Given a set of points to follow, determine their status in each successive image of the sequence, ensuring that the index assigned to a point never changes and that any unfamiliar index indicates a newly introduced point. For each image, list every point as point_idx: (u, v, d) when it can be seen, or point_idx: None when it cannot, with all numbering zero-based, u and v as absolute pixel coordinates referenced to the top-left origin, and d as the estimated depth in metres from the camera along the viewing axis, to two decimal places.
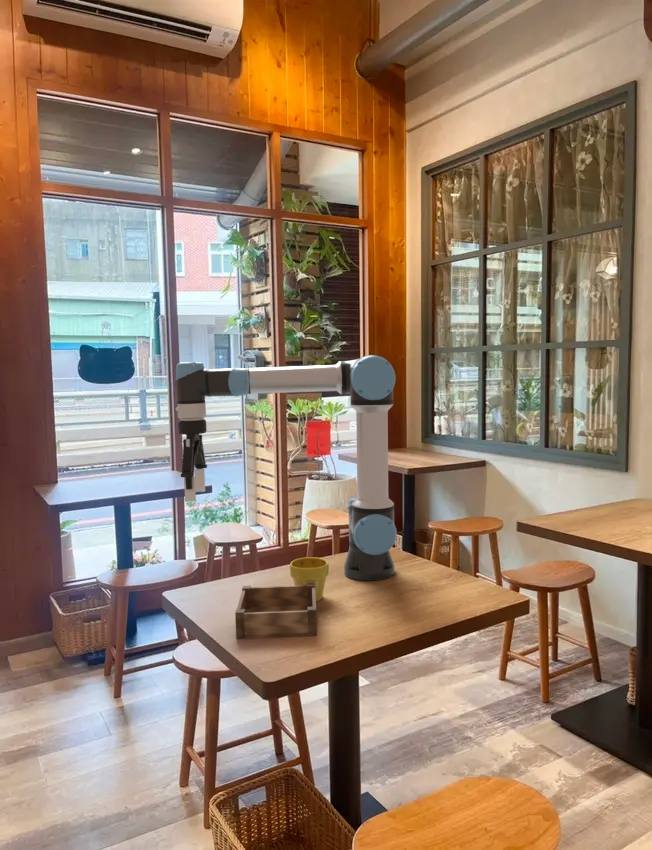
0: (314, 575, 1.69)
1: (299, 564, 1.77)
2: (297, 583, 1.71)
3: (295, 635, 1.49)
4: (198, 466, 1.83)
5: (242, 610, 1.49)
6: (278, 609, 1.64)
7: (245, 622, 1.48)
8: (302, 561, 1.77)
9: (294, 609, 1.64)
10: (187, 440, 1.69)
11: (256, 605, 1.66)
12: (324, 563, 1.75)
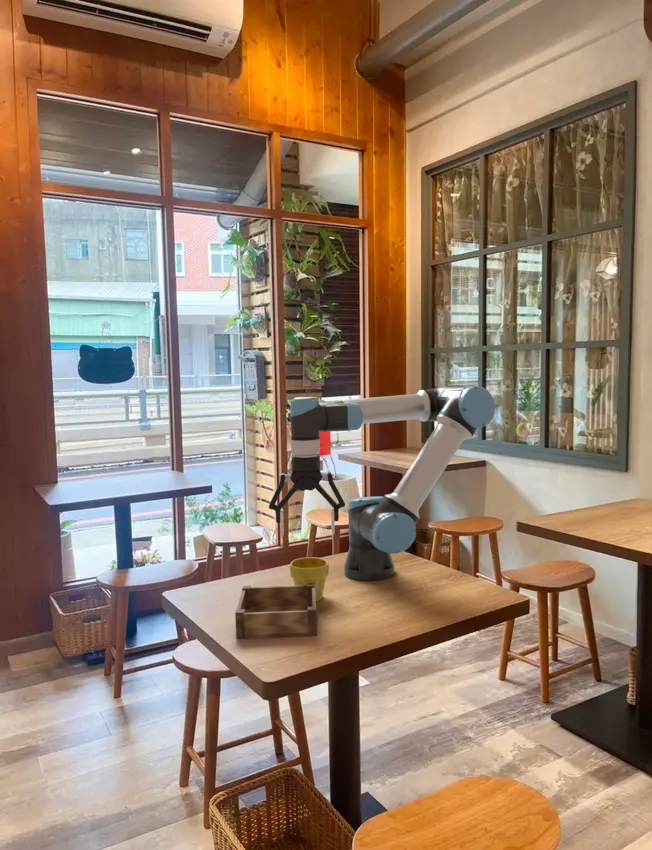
0: (314, 575, 1.69)
1: (299, 564, 1.77)
2: (297, 583, 1.71)
3: (295, 635, 1.49)
4: None
5: (242, 610, 1.49)
6: (278, 609, 1.64)
7: (245, 622, 1.48)
8: (302, 561, 1.77)
9: (294, 609, 1.64)
10: None
11: (256, 605, 1.66)
12: (324, 563, 1.75)
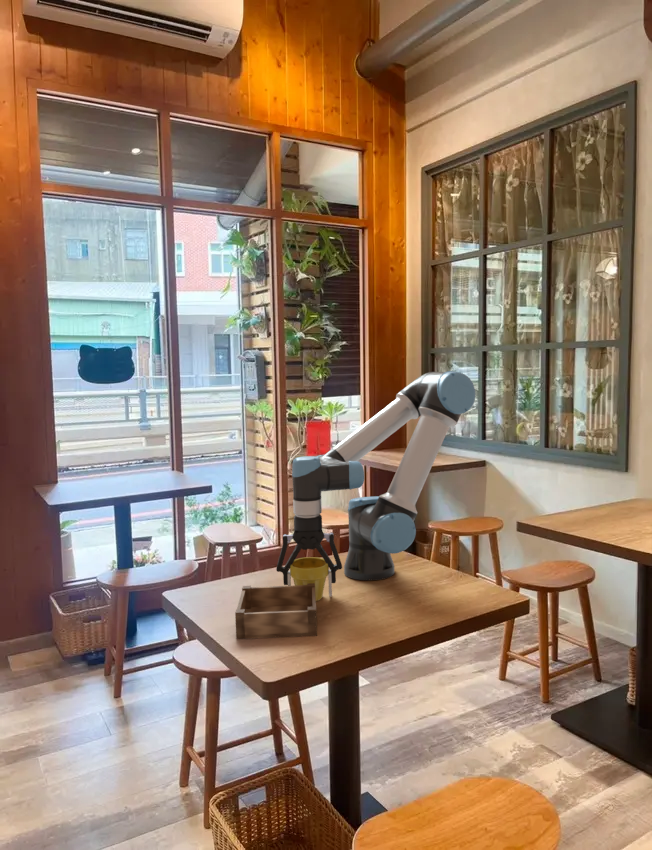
0: (314, 575, 1.69)
1: (299, 564, 1.77)
2: (297, 583, 1.71)
3: (295, 635, 1.49)
4: None
5: (242, 610, 1.49)
6: (278, 609, 1.64)
7: (245, 622, 1.48)
8: (302, 561, 1.77)
9: (294, 609, 1.64)
10: None
11: (256, 605, 1.66)
12: (324, 563, 1.75)
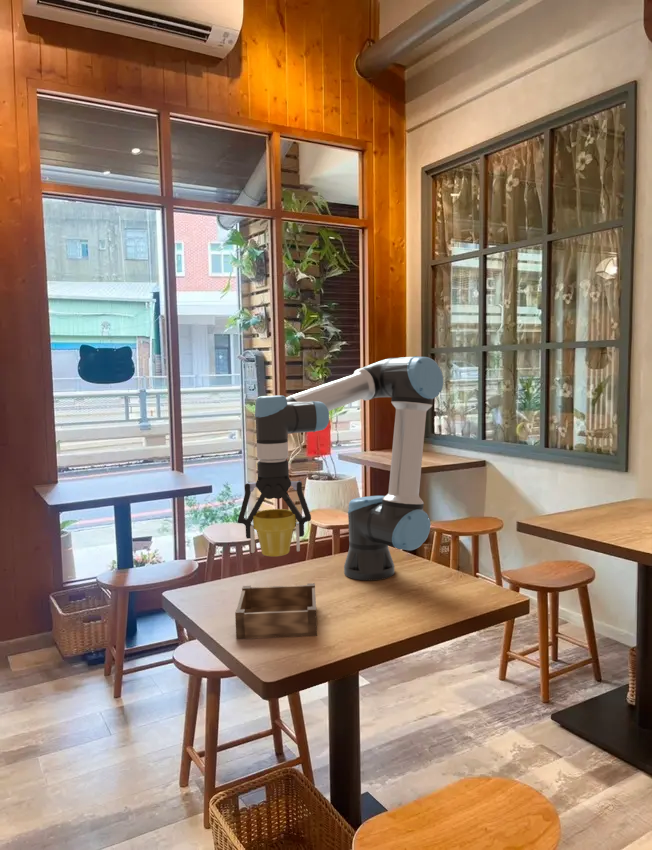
0: (279, 526, 1.51)
1: (264, 516, 1.59)
2: (260, 535, 1.53)
3: (295, 635, 1.49)
4: None
5: (242, 610, 1.49)
6: (278, 609, 1.64)
7: (245, 622, 1.48)
8: (268, 513, 1.60)
9: (294, 609, 1.64)
10: (245, 484, 1.55)
11: (256, 605, 1.66)
12: (291, 515, 1.58)
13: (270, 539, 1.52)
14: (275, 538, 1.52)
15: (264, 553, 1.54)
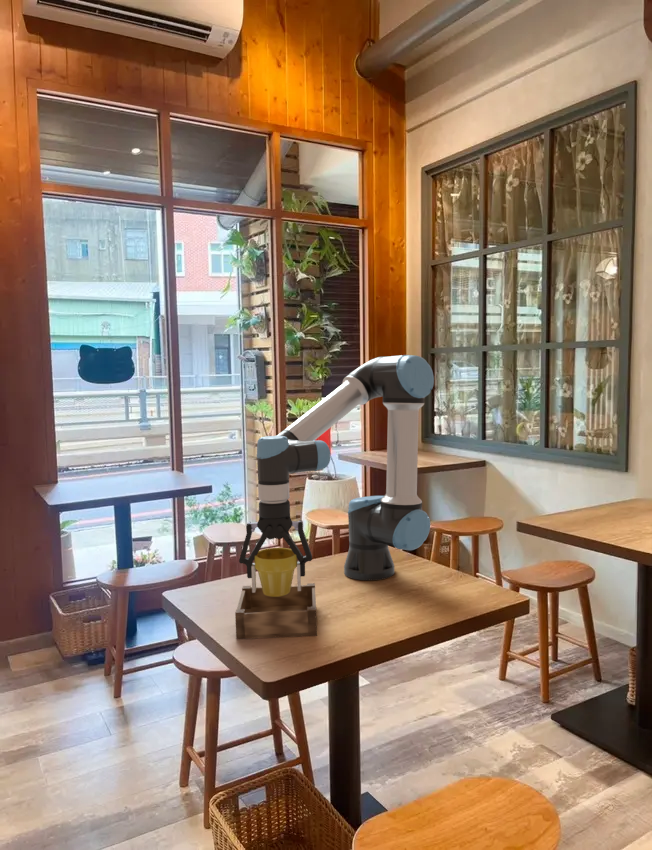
0: (280, 567, 1.52)
1: (265, 555, 1.60)
2: (262, 576, 1.54)
3: (295, 635, 1.49)
4: None
5: (242, 610, 1.49)
6: (278, 609, 1.64)
7: (245, 622, 1.48)
8: (269, 552, 1.61)
9: (294, 609, 1.64)
10: None
11: (256, 605, 1.66)
12: (293, 554, 1.59)
13: (271, 580, 1.53)
14: (276, 579, 1.53)
15: (265, 593, 1.55)
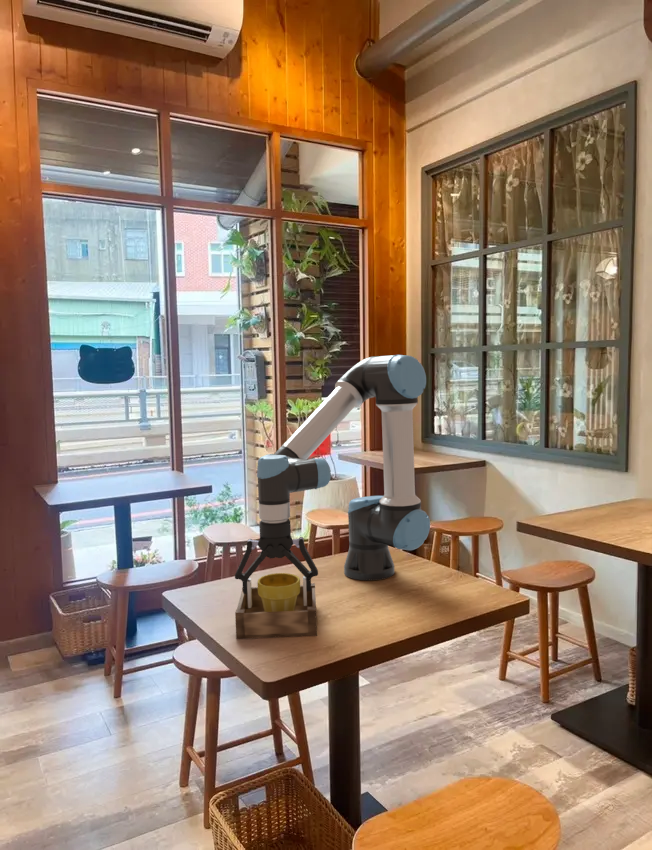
0: (283, 594, 1.52)
1: (268, 581, 1.61)
2: (265, 602, 1.55)
3: (295, 635, 1.49)
4: None
5: (242, 610, 1.49)
6: None
7: (245, 622, 1.48)
8: (272, 577, 1.61)
9: None
10: None
11: (256, 605, 1.66)
12: (296, 580, 1.59)
13: (274, 606, 1.54)
14: (279, 606, 1.54)
15: None
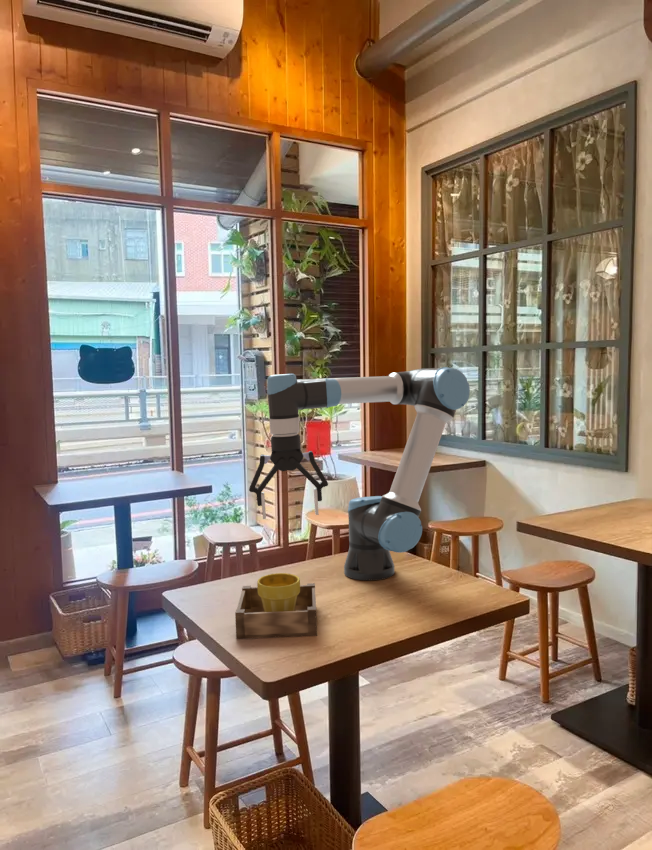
0: (283, 594, 1.52)
1: (268, 581, 1.61)
2: (265, 602, 1.55)
3: (295, 635, 1.49)
4: None
5: (242, 610, 1.49)
6: None
7: (245, 622, 1.48)
8: (272, 577, 1.61)
9: None
10: (260, 456, 1.65)
11: (256, 605, 1.66)
12: (295, 580, 1.59)
13: (274, 606, 1.54)
14: (279, 606, 1.54)
15: None
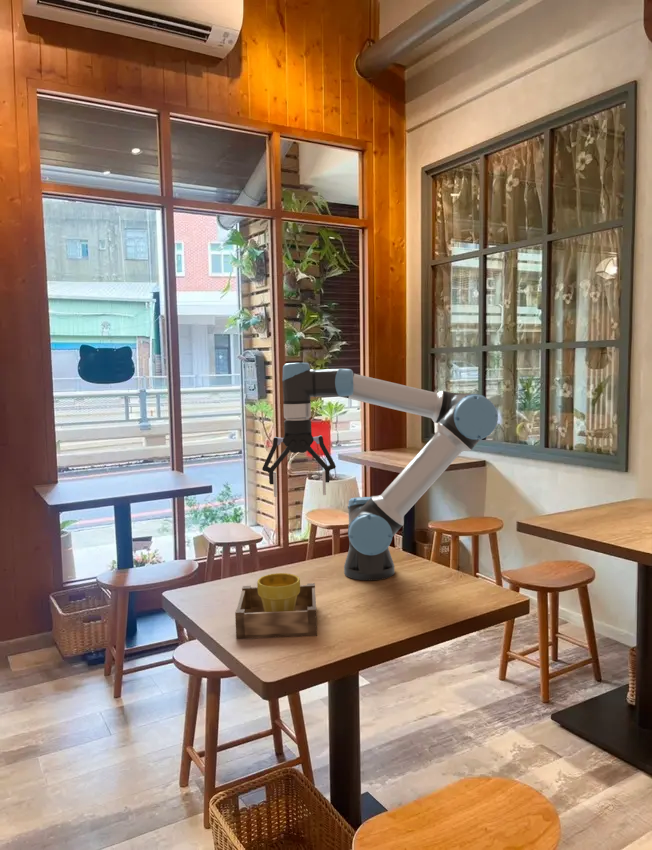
0: (283, 594, 1.52)
1: (268, 581, 1.61)
2: (265, 602, 1.55)
3: (295, 635, 1.49)
4: None
5: (242, 610, 1.49)
6: None
7: (245, 622, 1.48)
8: (272, 577, 1.61)
9: None
10: None
11: (256, 605, 1.66)
12: (295, 580, 1.59)
13: (274, 606, 1.54)
14: (279, 606, 1.54)
15: None
